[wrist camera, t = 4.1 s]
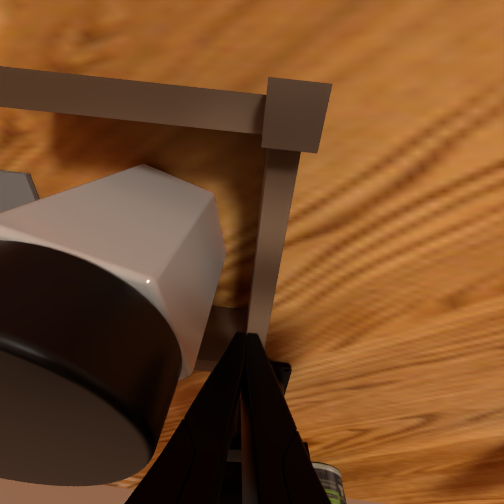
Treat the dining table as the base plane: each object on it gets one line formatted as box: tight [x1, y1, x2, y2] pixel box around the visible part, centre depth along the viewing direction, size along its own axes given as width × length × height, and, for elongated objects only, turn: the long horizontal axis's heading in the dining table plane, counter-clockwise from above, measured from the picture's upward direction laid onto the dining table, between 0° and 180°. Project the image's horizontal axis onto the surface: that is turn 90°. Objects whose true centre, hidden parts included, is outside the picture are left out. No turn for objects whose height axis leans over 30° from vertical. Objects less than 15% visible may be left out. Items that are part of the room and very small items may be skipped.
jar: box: [0, 164, 226, 486], centre depth 11 cm, size 9×8×12 cm
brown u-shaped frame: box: [0, 66, 332, 398], centre depth 13 cm, size 17×13×6 cm
